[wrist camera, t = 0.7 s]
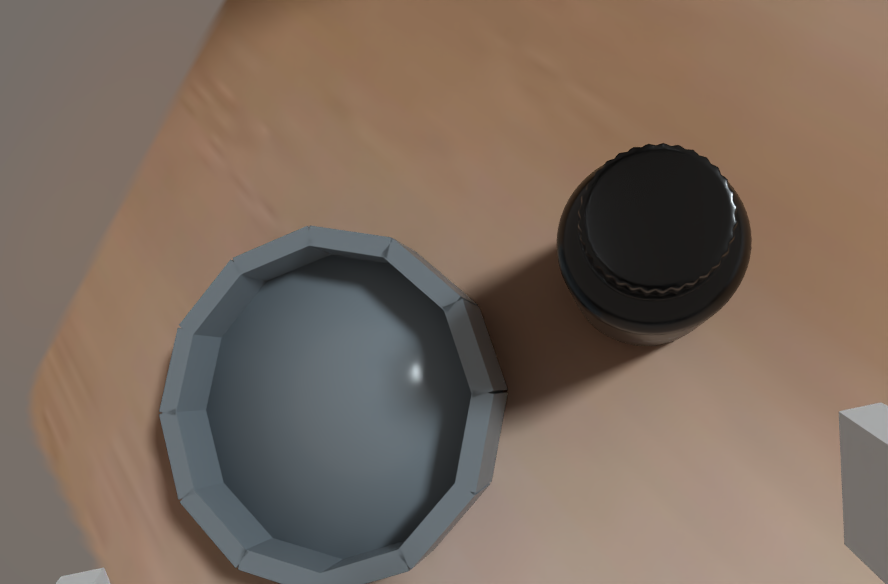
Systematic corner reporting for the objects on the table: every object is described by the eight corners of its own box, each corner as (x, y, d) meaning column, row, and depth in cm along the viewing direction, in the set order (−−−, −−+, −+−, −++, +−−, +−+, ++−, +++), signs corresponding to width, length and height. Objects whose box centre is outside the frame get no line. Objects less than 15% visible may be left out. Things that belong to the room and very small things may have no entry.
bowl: (241, 224, 38) (203, 209, 35) (530, 268, 34) (519, 256, 30) (176, 520, 37) (131, 534, 34) (467, 611, 32) (448, 638, 29)
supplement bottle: (670, 375, 31) (692, 372, 20) (546, 299, 33) (500, 256, 22) (750, 250, 31) (820, 173, 19) (620, 181, 33) (614, 75, 21)
